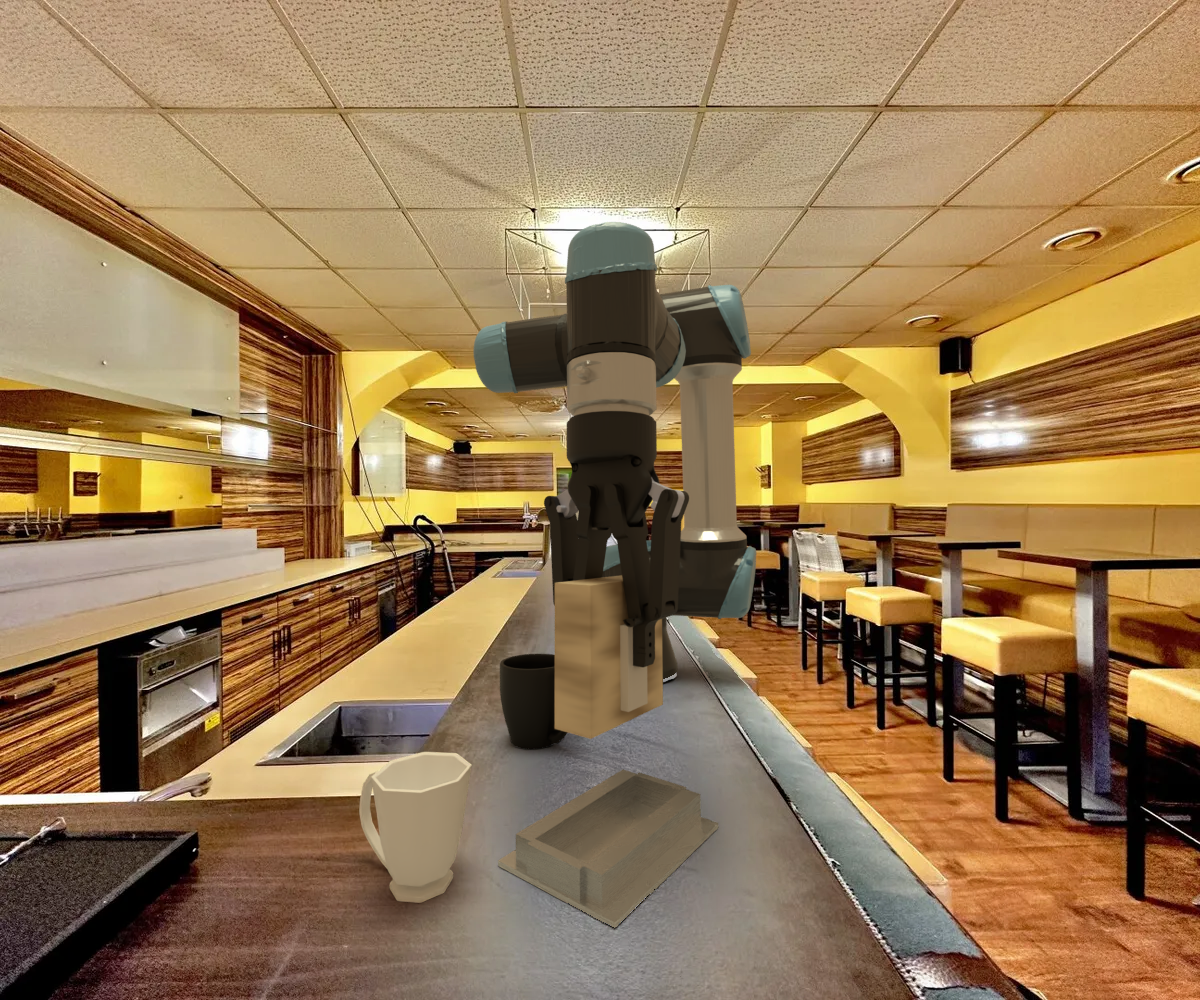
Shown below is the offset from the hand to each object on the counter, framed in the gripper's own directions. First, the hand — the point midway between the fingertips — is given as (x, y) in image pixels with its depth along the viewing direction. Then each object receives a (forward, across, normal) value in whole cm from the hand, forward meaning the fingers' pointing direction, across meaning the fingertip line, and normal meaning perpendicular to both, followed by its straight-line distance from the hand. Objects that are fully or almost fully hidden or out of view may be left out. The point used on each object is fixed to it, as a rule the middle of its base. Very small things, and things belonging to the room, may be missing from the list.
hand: (612, 701), depth 45 cm
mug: (+12, -19, +12) cm, 26 cm away
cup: (+12, -10, -12) cm, 20 cm away
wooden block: (+1, 0, 0) cm, 1 cm away
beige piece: (+12, 0, 0) cm, 12 cm away
